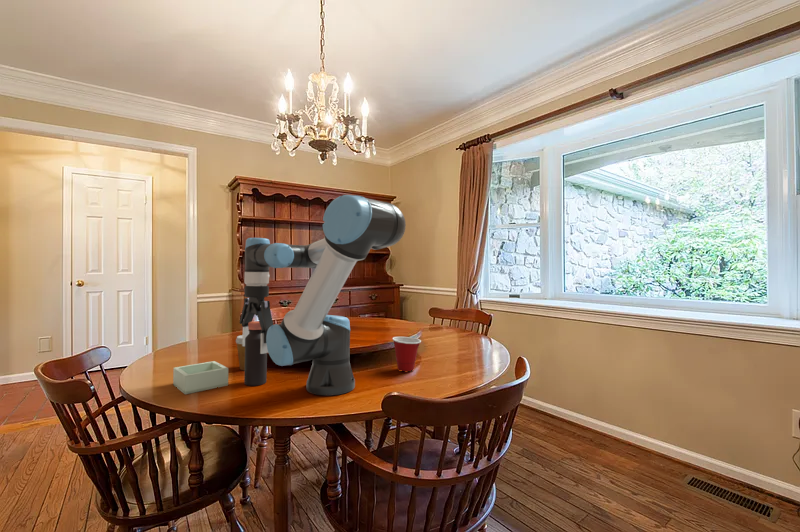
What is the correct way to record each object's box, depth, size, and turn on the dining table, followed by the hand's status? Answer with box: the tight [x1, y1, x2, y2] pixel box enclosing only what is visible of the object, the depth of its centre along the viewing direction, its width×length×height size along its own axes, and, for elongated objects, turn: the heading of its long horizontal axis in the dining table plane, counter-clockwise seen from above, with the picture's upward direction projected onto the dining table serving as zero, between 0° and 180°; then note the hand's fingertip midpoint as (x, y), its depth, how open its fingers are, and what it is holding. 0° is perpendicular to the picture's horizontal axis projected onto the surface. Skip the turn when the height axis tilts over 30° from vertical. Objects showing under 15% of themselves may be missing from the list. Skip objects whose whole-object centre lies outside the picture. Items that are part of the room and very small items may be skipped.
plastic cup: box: [392, 336, 422, 371], centre depth 137 cm, size 11×11×12 cm
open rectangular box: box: [172, 360, 229, 395], centre depth 118 cm, size 12×12×6 cm
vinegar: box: [243, 320, 268, 387], centre depth 120 cm, size 7×7×20 cm
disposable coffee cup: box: [235, 334, 245, 371], centre depth 138 cm, size 10×10×12 cm
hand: (255, 349), depth 121 cm, fingers open, 13 cm apart
